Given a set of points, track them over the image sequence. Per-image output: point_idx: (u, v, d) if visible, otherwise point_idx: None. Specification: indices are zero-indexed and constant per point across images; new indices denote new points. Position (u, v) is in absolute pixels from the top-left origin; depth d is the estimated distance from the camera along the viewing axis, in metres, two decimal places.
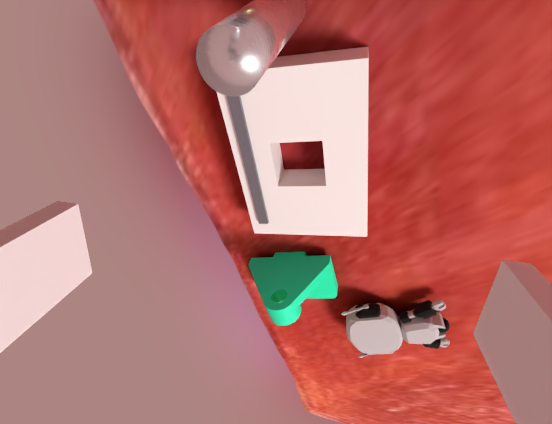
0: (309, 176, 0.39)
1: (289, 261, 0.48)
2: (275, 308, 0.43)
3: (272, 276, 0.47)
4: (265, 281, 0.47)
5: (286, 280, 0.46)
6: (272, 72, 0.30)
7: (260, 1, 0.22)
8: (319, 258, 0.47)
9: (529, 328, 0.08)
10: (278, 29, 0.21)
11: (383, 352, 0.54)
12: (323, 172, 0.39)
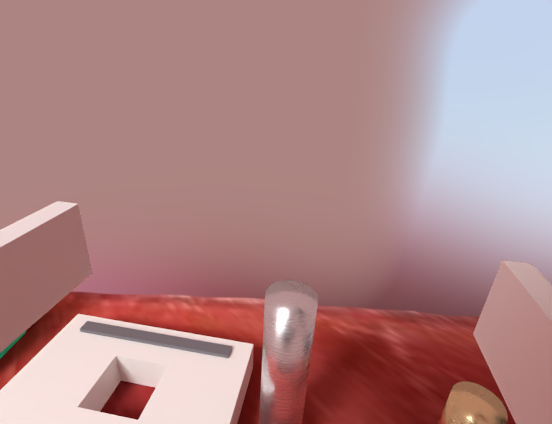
0: (97, 399, 0.31)
1: None
2: None
3: None
4: None
5: None
6: (234, 393, 0.30)
7: (307, 374, 0.25)
8: None
9: (529, 328, 0.08)
10: (288, 368, 0.24)
11: None
12: None
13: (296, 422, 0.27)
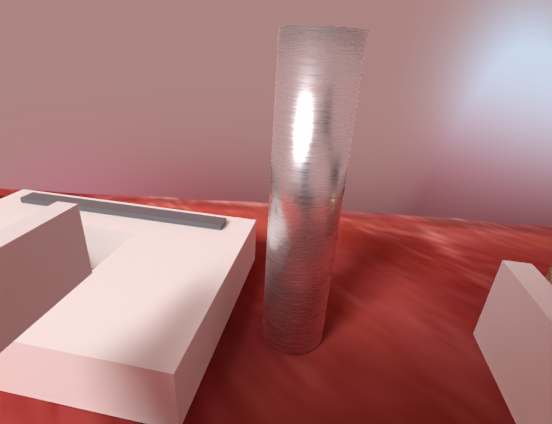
0: None
1: None
2: None
3: None
4: None
5: None
6: (228, 260, 0.21)
7: (343, 193, 0.16)
8: None
9: (529, 328, 0.08)
10: (316, 158, 0.14)
11: None
12: None
13: (321, 280, 0.17)
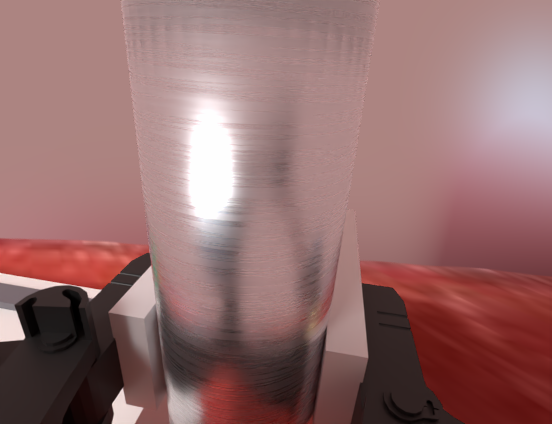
0: None
1: None
2: None
3: None
4: None
5: None
6: (128, 414, 0.12)
7: None
8: None
9: None
10: (241, 333, 0.05)
11: None
12: None
13: None
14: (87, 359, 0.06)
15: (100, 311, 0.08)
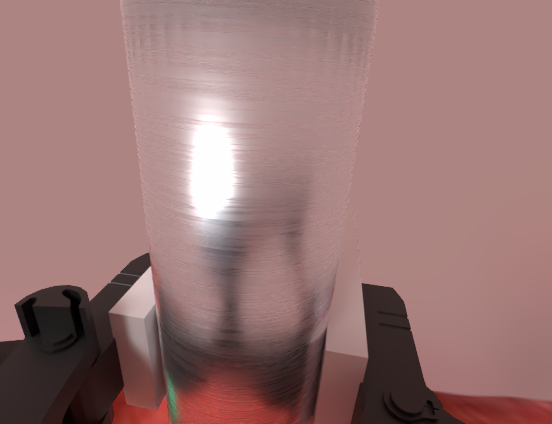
0: None
1: None
2: None
3: None
4: None
5: None
6: None
7: None
8: None
9: None
10: (241, 333, 0.05)
11: None
12: None
13: None
14: (87, 359, 0.06)
15: (100, 311, 0.08)
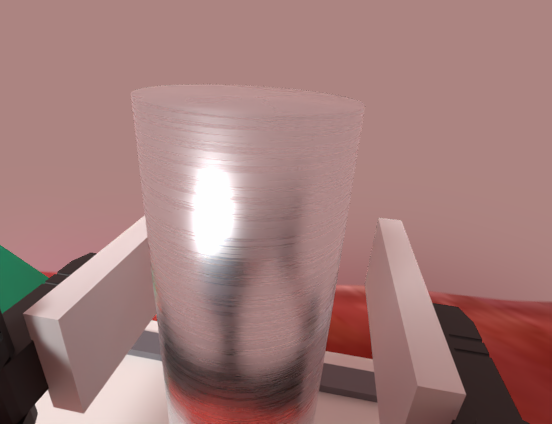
0: None
1: None
2: None
3: None
4: None
5: None
6: None
7: (314, 413, 0.08)
8: None
9: (381, 266, 0.10)
10: (240, 400, 0.06)
11: None
12: None
13: None
14: None
15: (25, 312, 0.07)
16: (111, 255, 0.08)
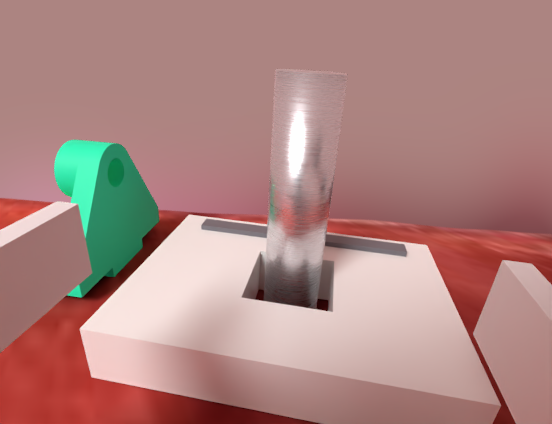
0: None
1: (124, 243, 0.28)
2: (113, 148, 0.25)
3: (133, 204, 0.29)
4: (136, 191, 0.29)
5: (117, 206, 0.26)
6: (441, 288, 0.22)
7: (329, 202, 0.19)
8: (93, 277, 0.24)
9: (529, 328, 0.08)
10: (306, 176, 0.17)
11: None
12: None
13: (313, 275, 0.20)
14: None
15: None
16: None
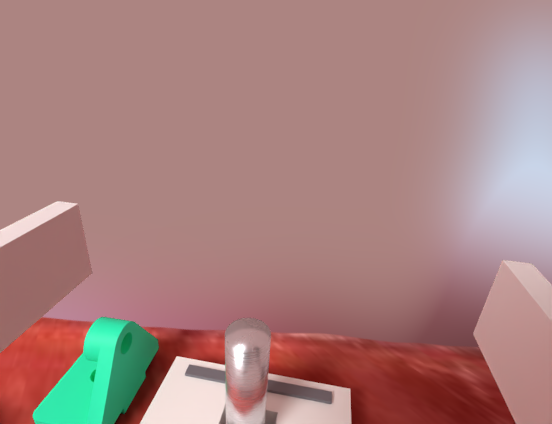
0: None
1: (132, 385, 0.38)
2: (124, 329, 0.35)
3: (138, 353, 0.38)
4: (141, 342, 0.39)
5: (127, 364, 0.36)
6: None
7: (265, 400, 0.29)
8: None
9: (530, 328, 0.08)
10: (245, 396, 0.27)
11: None
12: None
13: None
14: None
15: None
16: None
